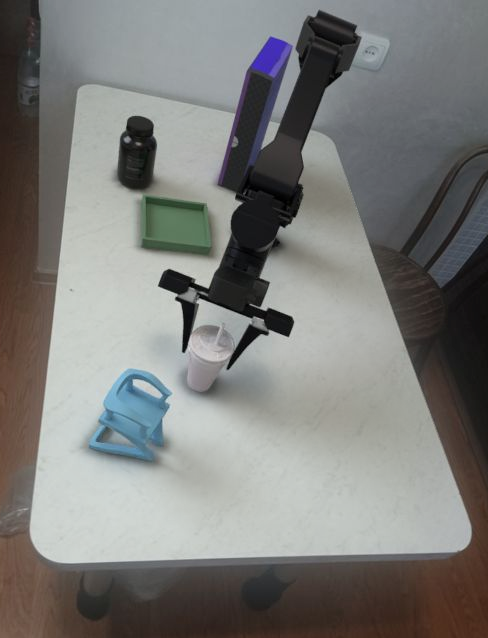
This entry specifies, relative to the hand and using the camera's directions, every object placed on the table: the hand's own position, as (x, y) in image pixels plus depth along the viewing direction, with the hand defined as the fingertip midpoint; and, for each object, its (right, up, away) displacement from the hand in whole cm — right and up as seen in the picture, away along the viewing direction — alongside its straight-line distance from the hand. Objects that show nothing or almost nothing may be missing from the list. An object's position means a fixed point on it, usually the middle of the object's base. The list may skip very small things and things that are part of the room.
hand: (205, 361), depth 75 cm
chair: (-10, -10, -2) cm, 15 cm away
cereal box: (+4, +41, +42) cm, 59 cm away
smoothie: (-1, -3, +6) cm, 7 cm away
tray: (-8, +24, +25) cm, 36 cm away
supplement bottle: (-16, +35, +31) cm, 49 cm away
